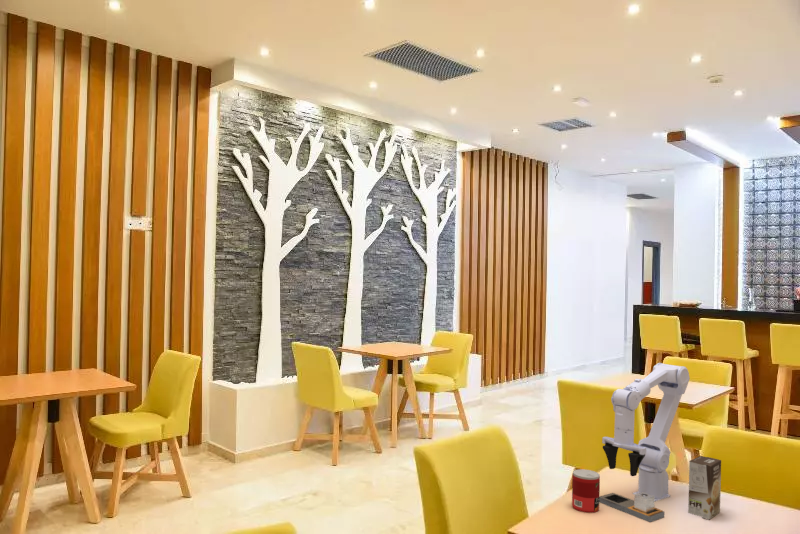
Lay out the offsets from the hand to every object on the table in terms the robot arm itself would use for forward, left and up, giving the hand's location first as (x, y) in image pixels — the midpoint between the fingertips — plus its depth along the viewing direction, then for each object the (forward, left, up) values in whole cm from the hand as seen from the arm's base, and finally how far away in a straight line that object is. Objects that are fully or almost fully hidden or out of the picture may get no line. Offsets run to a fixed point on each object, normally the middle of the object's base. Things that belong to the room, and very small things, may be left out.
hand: (622, 472), depth 191 cm
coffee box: (-17, +17, -11) cm, 26 cm away
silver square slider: (+2, +9, -10) cm, 14 cm away
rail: (+1, +4, -10) cm, 11 cm away
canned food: (+12, -4, -11) cm, 17 cm away
